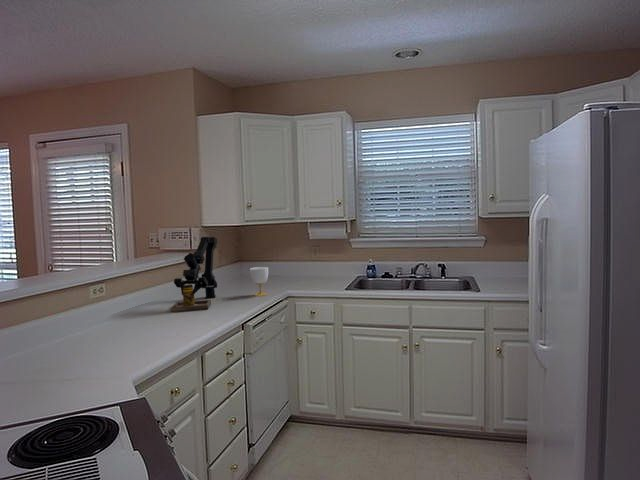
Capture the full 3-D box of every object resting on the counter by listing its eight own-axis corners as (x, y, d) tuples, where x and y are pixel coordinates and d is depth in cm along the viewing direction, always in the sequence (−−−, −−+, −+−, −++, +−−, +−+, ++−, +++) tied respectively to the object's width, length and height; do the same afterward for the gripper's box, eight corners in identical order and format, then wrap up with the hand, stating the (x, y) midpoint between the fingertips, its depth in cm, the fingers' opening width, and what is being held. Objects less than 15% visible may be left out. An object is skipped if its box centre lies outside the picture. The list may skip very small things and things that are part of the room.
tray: (176, 306, 274) (176, 302, 274) (211, 303, 276) (210, 299, 276) (170, 312, 258) (170, 308, 258) (207, 309, 260) (207, 305, 260)
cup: (273, 293, 300) (271, 266, 299) (263, 296, 290) (261, 269, 289) (257, 292, 305) (256, 266, 304) (247, 296, 295) (245, 269, 294)
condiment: (191, 307, 262) (189, 286, 261) (178, 307, 264) (176, 286, 263) (198, 304, 269) (196, 283, 268) (184, 304, 271) (183, 284, 270)
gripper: (173, 264, 270) (166, 287, 260) (204, 263, 267) (198, 286, 257) (180, 276, 278) (173, 298, 268) (210, 274, 276) (205, 297, 266)
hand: (187, 294), depth 264 cm, fingers closed on condiment, 6 cm apart
